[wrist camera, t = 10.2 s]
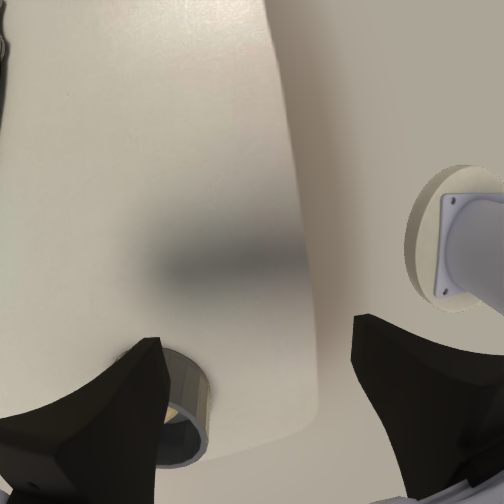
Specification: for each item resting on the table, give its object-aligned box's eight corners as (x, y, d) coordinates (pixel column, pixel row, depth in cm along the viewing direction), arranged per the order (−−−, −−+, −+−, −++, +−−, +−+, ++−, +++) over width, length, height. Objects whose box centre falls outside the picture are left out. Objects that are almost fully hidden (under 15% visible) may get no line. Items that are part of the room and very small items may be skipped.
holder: (201, 343, 23) (195, 391, 17) (217, 420, 25) (216, 468, 20) (98, 347, 22) (73, 389, 17) (128, 421, 25) (114, 465, 19)
